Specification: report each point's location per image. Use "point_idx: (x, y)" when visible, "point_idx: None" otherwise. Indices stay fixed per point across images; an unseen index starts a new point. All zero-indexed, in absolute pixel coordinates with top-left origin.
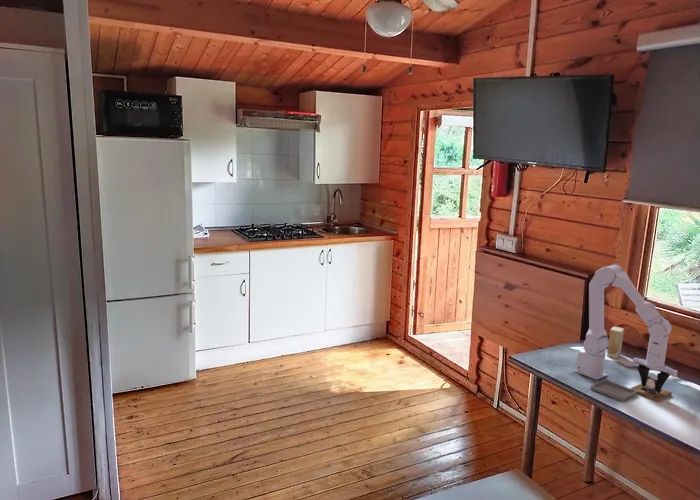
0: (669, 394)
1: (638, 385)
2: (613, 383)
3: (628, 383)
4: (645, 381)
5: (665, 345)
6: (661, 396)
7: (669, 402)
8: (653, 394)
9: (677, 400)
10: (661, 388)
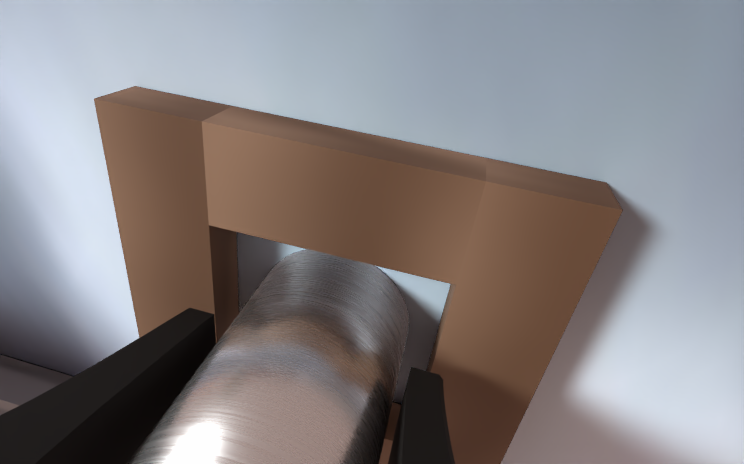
0: (580, 278)
1: (143, 287)
2: (12, 407)
3: (22, 176)
4: (167, 406)
5: None
6: (484, 450)
7: (589, 429)
8: (388, 442)
9: (709, 315)
10: (444, 410)
